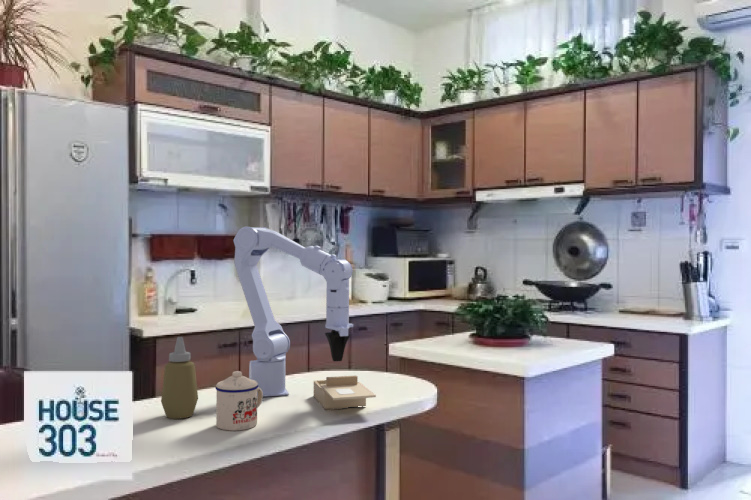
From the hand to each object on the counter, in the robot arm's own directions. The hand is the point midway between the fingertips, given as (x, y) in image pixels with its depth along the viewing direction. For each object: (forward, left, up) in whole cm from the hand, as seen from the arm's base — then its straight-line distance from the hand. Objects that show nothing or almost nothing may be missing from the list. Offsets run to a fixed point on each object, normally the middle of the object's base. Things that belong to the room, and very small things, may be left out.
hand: (337, 360), depth 160 cm
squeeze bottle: (-38, -5, -10) cm, 40 cm away
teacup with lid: (-25, -15, -10) cm, 31 cm away
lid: (0, -10, -6) cm, 11 cm away
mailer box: (0, -2, -10) cm, 10 cm away
